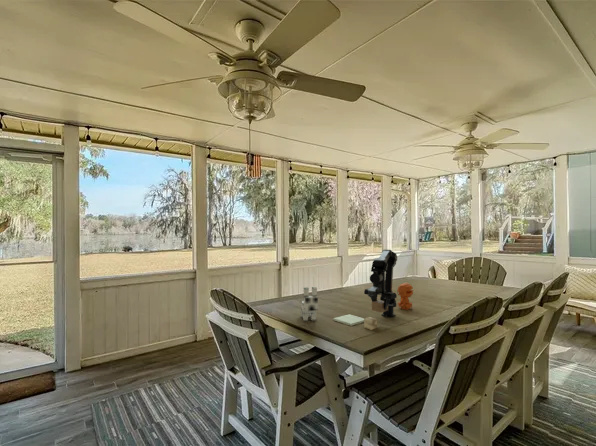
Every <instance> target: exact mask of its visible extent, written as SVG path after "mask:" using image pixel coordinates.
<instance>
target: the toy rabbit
mask: <svg viewBox="0 0 596 446" xmlns="http://www.w3.org/2000/svg"><path fill="white" fill-rule="evenodd" d="M317 311H319V297H318V288H317V287H316V286H315V287H311V295H309V287H307V286H306V287H303V300H300V317H301V319H302V321H303V322H309V318H310V320H311V321H312V322H316V321H317Z"/></svg>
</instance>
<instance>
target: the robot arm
mask: <svg viewBox="0 0 596 446" xmlns="http://www.w3.org/2000/svg"><path fill="white" fill-rule="evenodd" d="M397 262H398V254H397V253H395V252H394V251H393V250H391V249H383V250H382V252H381V254H380V255H379V257H376V258H374V259H373V260H372V263H371V264H372V265H371V268H370V272H371V273H372V274H370V276H369V280H370V283H372V286H371V287H369V288H364V295H367V297H369V298H370V300H371V302H372V301H376V300H378V296H379V298H380V299H379V300H382V301H384V310H386V308H387V306H388V311H385V312H382V314H381V316H382V317H386V318H392V317H395V316H396V314H394V310H395V309H394V308H396V307H397V300H396V299H397V295H398V294H397V293H396V292H393V278H394V268H395V266H396V265H397Z"/></svg>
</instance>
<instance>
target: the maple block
mask: <svg viewBox="0 0 596 446" xmlns="http://www.w3.org/2000/svg"><path fill="white" fill-rule="evenodd" d="M363 328H364V329H368V330H371V331H372V330H375V329H377V328H378V318H374V317H373V316H372V317H371V316H369V317H365V318H364V322H363Z"/></svg>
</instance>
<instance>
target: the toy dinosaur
mask: <svg viewBox="0 0 596 446" xmlns="http://www.w3.org/2000/svg"><path fill="white" fill-rule="evenodd" d="M396 290H397V295H398V296H400V301H399V302H397V305H398V308H400V309H401V310H406V311H408V310H410V309H413V302H410V300H409V298H411V297H412V295H413V293H414V290H413V286H412V284H410V283H408V282H404V283H401V284H400V285H399V286H398V287H397V289H396Z"/></svg>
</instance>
